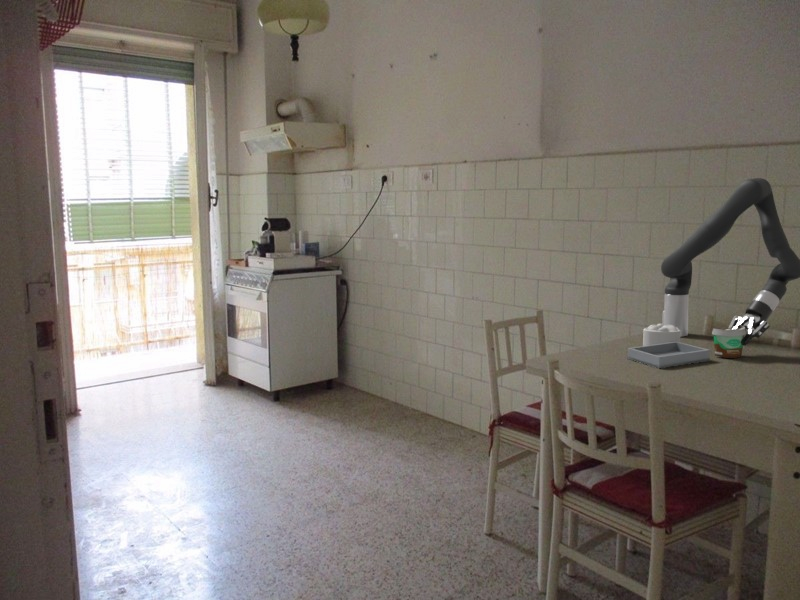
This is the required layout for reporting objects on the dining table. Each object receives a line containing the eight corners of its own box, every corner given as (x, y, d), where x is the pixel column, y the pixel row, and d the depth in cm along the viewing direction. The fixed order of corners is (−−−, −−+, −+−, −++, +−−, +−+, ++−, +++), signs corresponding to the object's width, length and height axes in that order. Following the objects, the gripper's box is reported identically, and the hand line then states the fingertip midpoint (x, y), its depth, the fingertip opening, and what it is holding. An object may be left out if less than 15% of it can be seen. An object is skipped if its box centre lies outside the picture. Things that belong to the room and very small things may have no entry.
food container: (723, 359, 232) (723, 331, 231) (711, 355, 238) (712, 328, 237) (753, 356, 235) (754, 328, 233) (741, 352, 241) (742, 325, 239)
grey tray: (627, 359, 240) (627, 348, 240) (676, 352, 248) (676, 341, 247) (659, 368, 226) (659, 357, 225) (709, 361, 233) (710, 349, 233)
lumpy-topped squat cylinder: (681, 350, 250) (682, 328, 249) (644, 350, 253) (645, 327, 252) (676, 344, 260) (676, 322, 259) (641, 344, 263) (641, 322, 262)
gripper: (740, 296, 244) (714, 332, 242) (775, 302, 231) (747, 339, 229) (751, 309, 247) (725, 345, 245) (785, 315, 234) (758, 353, 231)
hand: (736, 342), depth 237 cm, fingers closed on food container, 5 cm apart
